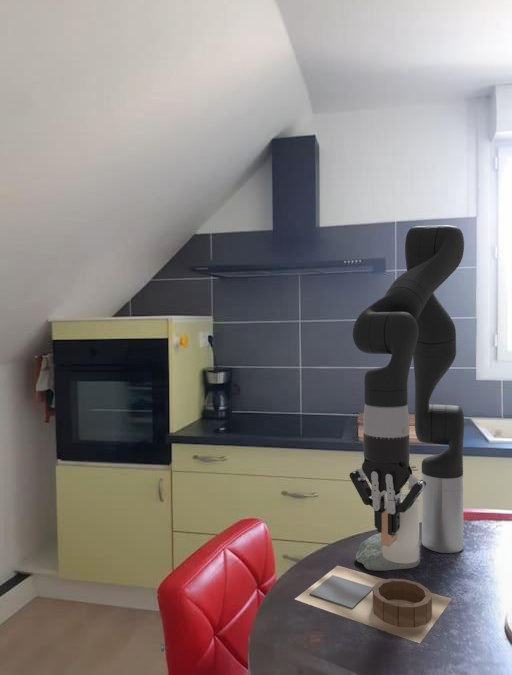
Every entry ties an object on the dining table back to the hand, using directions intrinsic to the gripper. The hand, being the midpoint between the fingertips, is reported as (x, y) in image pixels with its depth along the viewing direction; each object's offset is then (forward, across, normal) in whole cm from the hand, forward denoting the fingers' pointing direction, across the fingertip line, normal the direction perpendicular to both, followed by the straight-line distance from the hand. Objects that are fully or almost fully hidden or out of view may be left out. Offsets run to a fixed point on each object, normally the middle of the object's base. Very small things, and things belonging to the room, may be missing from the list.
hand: (387, 532), depth 92 cm
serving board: (+18, +6, -7) cm, 20 cm away
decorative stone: (+18, +10, -23) cm, 31 cm away
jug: (+6, 0, -4) cm, 8 cm away
